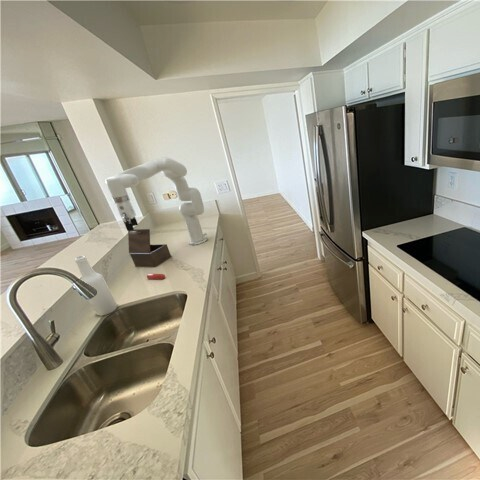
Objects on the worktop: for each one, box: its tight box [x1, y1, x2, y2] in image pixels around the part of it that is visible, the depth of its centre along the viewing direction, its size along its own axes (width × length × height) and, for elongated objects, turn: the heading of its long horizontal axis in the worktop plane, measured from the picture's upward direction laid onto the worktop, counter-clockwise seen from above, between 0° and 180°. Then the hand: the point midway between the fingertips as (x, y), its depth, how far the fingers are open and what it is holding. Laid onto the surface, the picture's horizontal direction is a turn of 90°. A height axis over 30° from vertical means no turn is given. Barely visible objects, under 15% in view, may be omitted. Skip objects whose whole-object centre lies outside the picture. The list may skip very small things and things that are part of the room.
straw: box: [146, 273, 166, 280], centre depth 158 cm, size 12×3×3 cm, turn 77°
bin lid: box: [127, 228, 151, 254], centre depth 170 cm, size 15×17×5 cm
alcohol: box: [74, 255, 118, 317], centre depth 126 cm, size 9×9×30 cm
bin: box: [129, 243, 172, 268], centre depth 181 cm, size 15×17×10 cm
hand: (133, 227), depth 155 cm, fingers open, 9 cm apart
